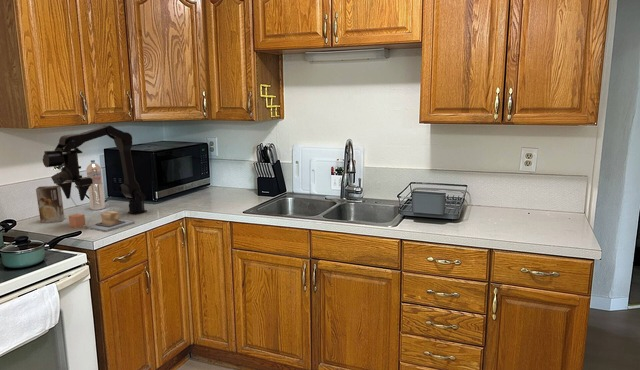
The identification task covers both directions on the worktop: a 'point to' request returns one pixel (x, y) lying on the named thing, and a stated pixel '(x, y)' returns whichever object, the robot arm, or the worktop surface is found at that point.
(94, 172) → the water bottle
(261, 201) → the worktop surface
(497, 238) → the worktop surface
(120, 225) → the grey flat square plate
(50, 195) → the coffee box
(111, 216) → the oak cube
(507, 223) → the worktop surface
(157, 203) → the worktop surface
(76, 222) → the terracotta block
